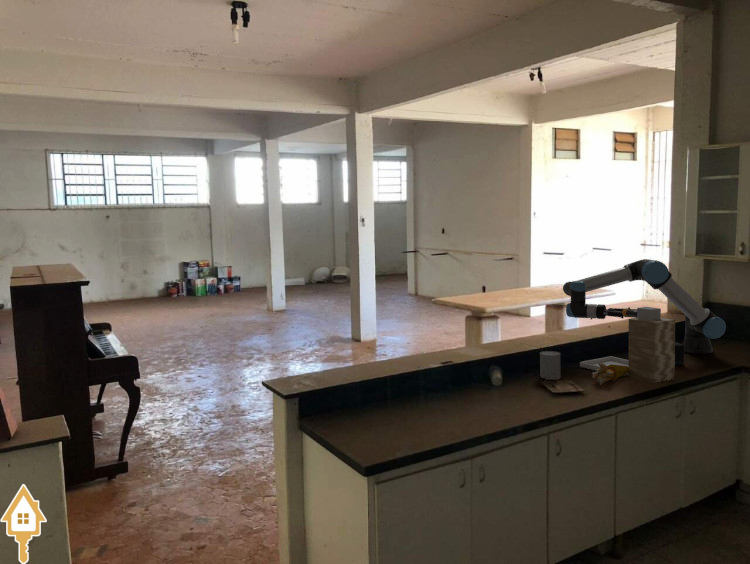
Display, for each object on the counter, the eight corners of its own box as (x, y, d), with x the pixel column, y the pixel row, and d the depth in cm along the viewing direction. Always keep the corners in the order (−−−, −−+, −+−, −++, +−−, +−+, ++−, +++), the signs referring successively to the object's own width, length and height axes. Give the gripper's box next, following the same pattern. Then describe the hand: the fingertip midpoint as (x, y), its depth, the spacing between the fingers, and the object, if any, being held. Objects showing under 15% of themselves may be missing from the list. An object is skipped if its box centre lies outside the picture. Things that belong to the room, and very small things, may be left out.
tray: (611, 360, 318) (611, 356, 318) (651, 370, 296) (651, 365, 296) (580, 366, 309) (580, 362, 308) (619, 377, 286) (619, 372, 286)
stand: (649, 372, 292) (649, 315, 290) (674, 378, 280) (675, 319, 277) (628, 376, 286) (628, 318, 283) (653, 383, 274) (654, 322, 271)
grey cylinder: (560, 381, 284) (560, 355, 283) (539, 380, 287) (539, 355, 286) (561, 376, 293) (560, 351, 292) (540, 375, 296) (540, 350, 295)
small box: (684, 365, 303) (685, 344, 302) (671, 365, 303) (671, 345, 302) (674, 360, 314) (674, 340, 313) (662, 361, 314) (662, 341, 313)
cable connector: (629, 315, 295) (629, 304, 295) (660, 320, 279) (660, 308, 279) (620, 316, 293) (620, 305, 292) (651, 321, 277) (651, 309, 276)
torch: (629, 383, 287) (598, 386, 272) (616, 372, 293) (585, 375, 278) (637, 369, 284) (606, 372, 269) (624, 359, 289) (593, 361, 275)
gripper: (603, 316, 324) (645, 318, 312) (590, 321, 304) (635, 323, 292) (603, 302, 324) (645, 303, 312) (590, 306, 303) (635, 308, 291)
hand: (640, 313), depth 302 cm, fingers open, 13 cm apart
